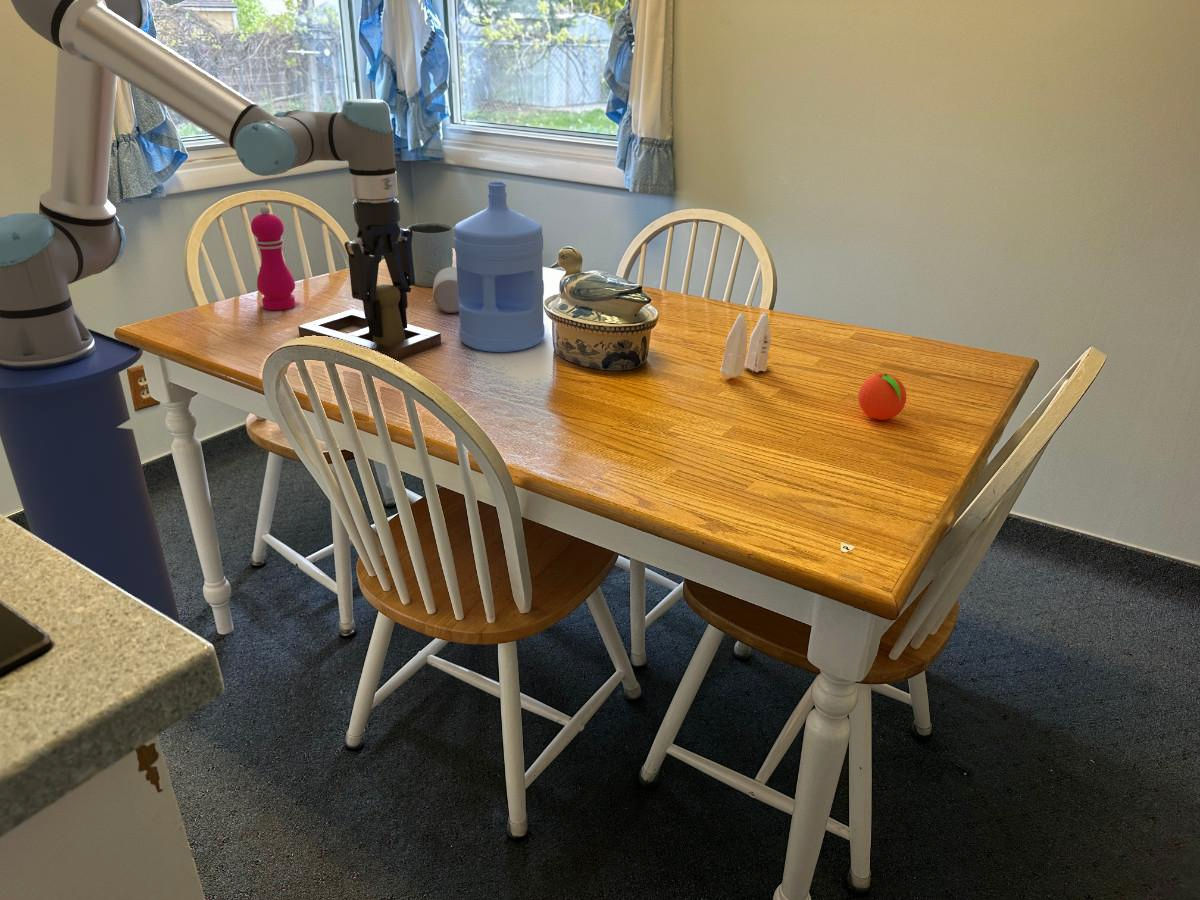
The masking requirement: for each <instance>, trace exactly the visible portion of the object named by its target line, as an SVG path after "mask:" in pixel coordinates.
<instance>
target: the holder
mask: <svg viewBox="0 0 1200 900" xmlns="http://www.w3.org/2000/svg"><path fill="white" fill-rule="evenodd" d="M352 325H353V326H356V327H360V328H361V329H358V330H355V331H352V332H349V333H344V332H341V331H337V330H340V329H343V328H346V327H349V326H352ZM297 330H298V335H299V336H298V337H301V338H303V337H304V336H312V335H316V336H328V337H333V338H337V339H341V340H345V341H348V342H351V343H354V344H356V345H360V346H364V347H367V348H370V349H372V350H375V351H378V352H380V353H382V354H385V355H387V356H389V357H391V358H393V359H395V360H397V361H400V360H403V359H406V358H407V357H411V356H412V355H415V354H418V353H420V352H421V353H422V352H423V351H425V350H428V349H431V348H434V347H435V346H438V345H442V333H441V332H437V331H433V330H430V329H427V328H423V327H419V326H416V325H412V324H409V323H407V328H406V329H404V333H405V338H406V340H404V341H401V342H398V343H395V344H393V345H390V346H385V345H382V344H379V343H375V342H373V336H372V335H369V328H368V319H366V318H365V316H364V311H360V310H357V309H353V308H352V309H349V310H346V311H343V312H338V313H336V314H333V315H329V316H327V317H323V318H320V319H317V320H314V321H310V322H308V323H307V322H306V323H304V324H301V325H297Z"/></svg>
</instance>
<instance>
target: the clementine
mask: <svg viewBox="0 0 1200 900" xmlns="http://www.w3.org/2000/svg"><path fill="white" fill-rule="evenodd" d="M906 390H907V389H906V387H905V386H904V384H903V382H902V381H901V380H900V379H898V378H897V377H896V376H894V375H893V374H888V373H877V374H875V375H872V376H870V377H868V378H867V379H866V380H864V381H863V383H862V384H861V386H860V388H859V392H858V399H857V401H858V404H859V407H860V409H861V410H862V412H863V413H864V414H865V415H867V416H868V417H869V418H871V419H873V420H879V421H887V420H890V419H892V418H894V417H897V415H899V414H900V413H901V412H902V410H903V409H904V408H905V405H906V402H907V391H906Z"/></svg>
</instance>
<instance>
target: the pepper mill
mask: <svg viewBox="0 0 1200 900" xmlns="http://www.w3.org/2000/svg"><path fill="white" fill-rule="evenodd" d="M259 212H260V213H259V214H258V215H256V216H254V217H253V219H252V220H251V222H250V223H251V224H250V228H251V232H252V234H253V235H254V236H255V237H256V238H257V239H256V240H255V242H256V248H258V249H259V252H260V258H261V261H260V267H259V271H258V274H257V279H256V288H257V290H258V291H259V293H260V294H261V295H263V297H262V298H261V302H262V303H261V304H262V307H263V309H264V310H267V311H283V310H289V309H292V308H293V307H295V306H296V300H295V299H296V298H295V295H293V294H292V293H293V292H294V291H295V288H296V282H295V278H294V276H293V273H292V272H291V271H290V269H289V267H287V264H286V262H285V260H284V257H283V247H284V239H283V237H282V236H283V234H284V231H285V226H284V223H283V221H282V219H281V218H280V217H279V216H278V215H277V214H272V213H271V210H270V208H269V207H268V206H267V205H262V206H260V209H259Z"/></svg>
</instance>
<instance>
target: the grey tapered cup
mask: <svg viewBox="0 0 1200 900" xmlns="http://www.w3.org/2000/svg"><path fill="white" fill-rule="evenodd" d="M454 228H455V227H453V226H452V225H450V224H448V223H441V222H423V223H421V222H420V223H414V224H410V225H408V226H407V227H406V230H411V231H412V232H413V237H412V243H411V245H412V255H413V265H414V275H415V285H416V286H419V287H426V288H433V286H434V279H435V277H436V275H437V274H438V272H439V271H441V270H442V269H444V268H447V267H453V263H454V261H453V257H454V253H453V251H454V250H453V249H454V235H455V234H454Z"/></svg>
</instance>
